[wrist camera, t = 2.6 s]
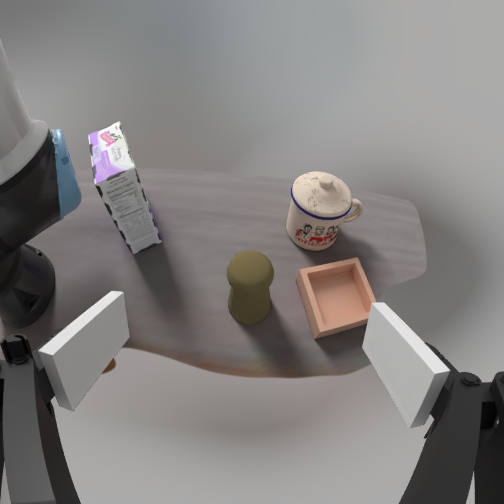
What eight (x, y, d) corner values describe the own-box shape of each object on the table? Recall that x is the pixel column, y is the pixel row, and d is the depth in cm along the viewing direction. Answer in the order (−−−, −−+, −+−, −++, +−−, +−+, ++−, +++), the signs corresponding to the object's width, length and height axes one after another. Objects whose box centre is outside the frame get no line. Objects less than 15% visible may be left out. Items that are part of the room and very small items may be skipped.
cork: (278, 295, 40) (288, 255, 31) (258, 331, 37) (263, 301, 28) (240, 278, 42) (239, 233, 32) (220, 312, 39) (211, 275, 30)
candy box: (116, 201, 50) (87, 133, 36) (144, 189, 51) (120, 119, 37) (132, 256, 43) (92, 184, 29) (164, 242, 45) (135, 165, 31)
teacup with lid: (288, 254, 44) (299, 203, 34) (281, 209, 49) (289, 157, 39) (359, 251, 45) (385, 204, 35) (346, 209, 49) (365, 160, 40)
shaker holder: (314, 339, 37) (320, 332, 34) (295, 280, 42) (299, 269, 39) (371, 322, 38) (381, 314, 35) (350, 268, 43) (357, 257, 40)
